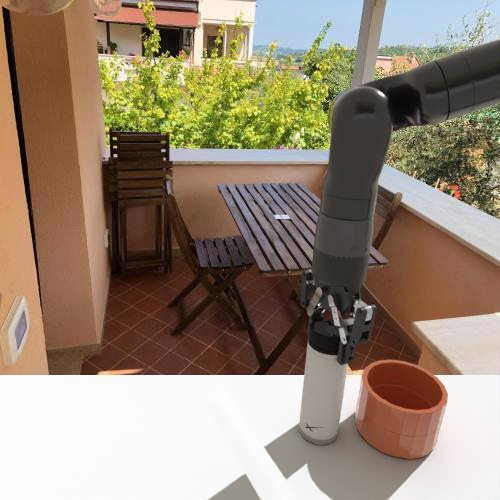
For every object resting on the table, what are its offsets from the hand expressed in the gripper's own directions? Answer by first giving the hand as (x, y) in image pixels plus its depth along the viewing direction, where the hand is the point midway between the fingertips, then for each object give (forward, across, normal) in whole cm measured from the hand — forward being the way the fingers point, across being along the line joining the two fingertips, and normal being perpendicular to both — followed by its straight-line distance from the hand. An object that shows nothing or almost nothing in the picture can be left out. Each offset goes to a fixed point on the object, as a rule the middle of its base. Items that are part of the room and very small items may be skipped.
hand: (328, 348), depth 64 cm
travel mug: (+16, 0, 0) cm, 16 cm away
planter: (+16, -5, -12) cm, 20 cm away
